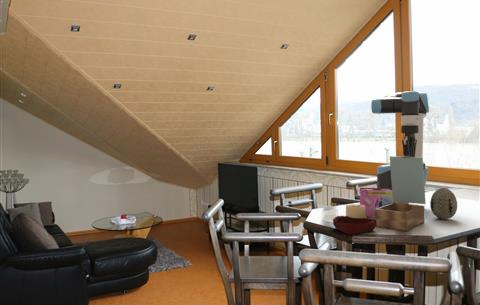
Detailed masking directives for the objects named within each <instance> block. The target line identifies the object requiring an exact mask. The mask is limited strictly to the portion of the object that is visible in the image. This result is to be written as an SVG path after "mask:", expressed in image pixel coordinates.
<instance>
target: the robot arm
mask: <svg viewBox="0 0 480 305" xmlns="http://www.w3.org/2000/svg"><path fill="white" fill-rule="evenodd" d="M429 112H430V107H429V99H428V94H427V93H426V92H425V91H417V90H416V91H415V90H410V91H403V92H395V93H391V94H387V95H385V96H384V97H383V98H381V97H380V98H373V99H372V100H371V113H372V114H374V115H377V114H378V115H379V114H383V115H384V114H401V117H400V124H401V126H400V133H401V134H404V136H403V139H402V140H401V143H402V152H403V156H409V157H423V156H424V154H423V153H424V152H423V151H424V149H423V148H424V146H423V145H424V119H425V118H426V117H427V113H429ZM423 158H424V157H423ZM423 169H424V186H425V187H426V184H427V179H428V173H429V172H428V171H429V167H427V166H426V162H424V161H423ZM376 172H377V173H376V188H392V182H391V169H390V163H389V164H382V165H379V166H377V170H376Z"/></svg>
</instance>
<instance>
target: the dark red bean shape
mask: <svg viewBox="0 0 480 305" xmlns="http://www.w3.org/2000/svg"><path fill="white" fill-rule="evenodd" d="M332 224H333V226H334V228H335V229H338V230H339V231H340V232H342V233H343V234H345V235H348V236H349V235H350V236H352V235H353V236H354V235H358V234H363V233H368V232H373V231H374V230H375V229H376V228H377V227H376V219H375V218H372V217H365V218H352V217H349V216H346V215H337V216H335V217H334V218H333V219H332Z"/></svg>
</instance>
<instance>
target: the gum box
mask: <svg viewBox="0 0 480 305" xmlns="http://www.w3.org/2000/svg"><path fill="white" fill-rule="evenodd" d="M391 203H403V204H410V203H408V202H398V201H393V195H392V188H377V187H360V188H359V205H364V206H365V218H375V209H376V208H379V207H382V206H385V205H388V204H391Z"/></svg>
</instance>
